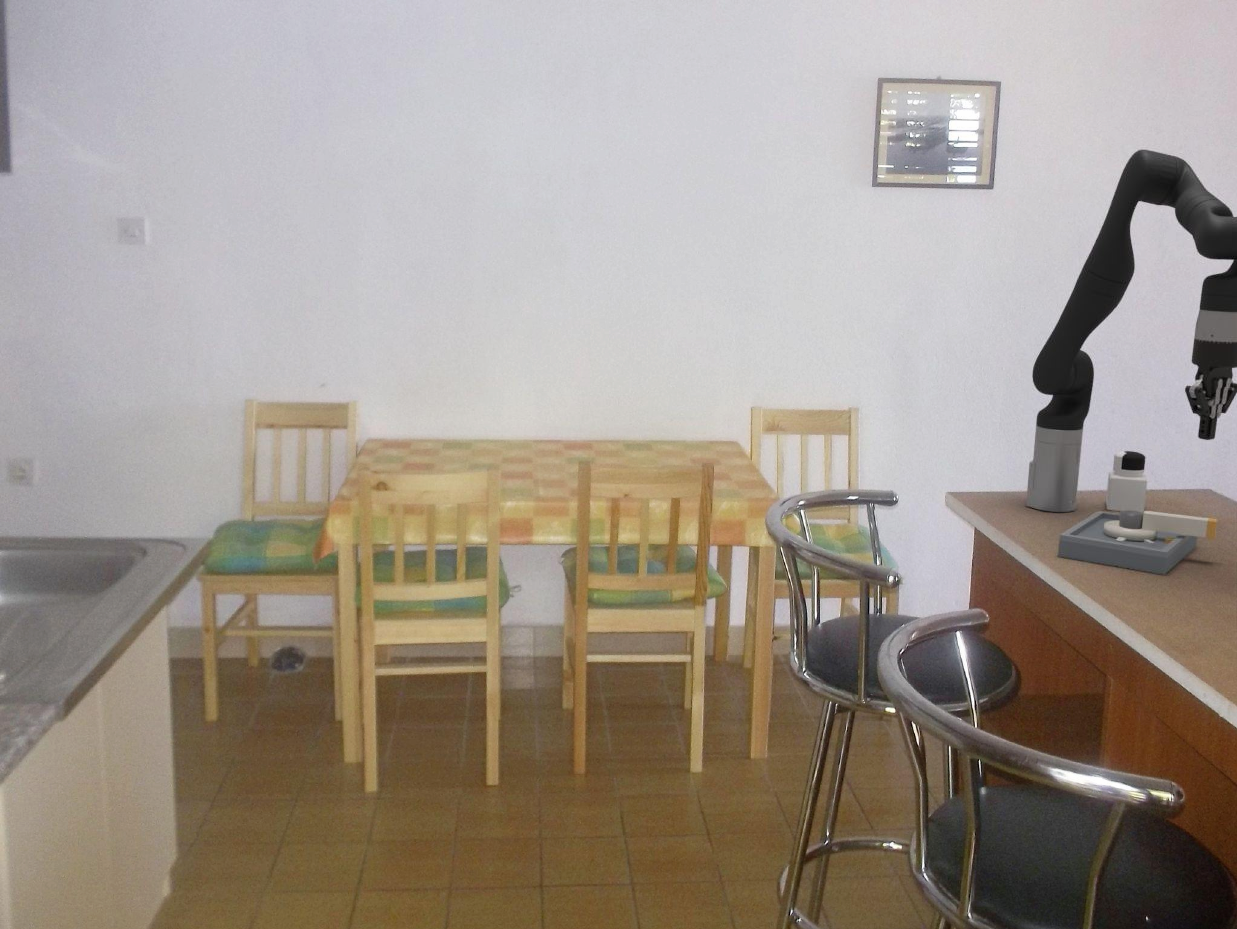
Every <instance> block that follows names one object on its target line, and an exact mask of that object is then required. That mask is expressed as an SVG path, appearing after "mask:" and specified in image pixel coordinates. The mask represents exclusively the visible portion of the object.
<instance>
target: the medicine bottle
mask: <svg viewBox="0 0 1237 929" xmlns="http://www.w3.org/2000/svg"><path fill="white" fill-rule="evenodd" d="M1146 458H1147V457H1146V456H1145V455H1144V454H1143V453H1141V452H1138V451H1132V450H1120V451H1117V452H1115V453H1114V455H1113V465H1112V466H1113V467H1112V470H1110V471H1108V478H1107V488H1106V498H1105V504H1106V509H1107V511H1114V512H1115V511H1117V512H1121V511H1137V512H1141V513H1143V514H1144V512H1145V506H1146V495H1147V486H1148V480H1147V479H1148V478H1147V477H1146V474H1145V465H1146Z"/></svg>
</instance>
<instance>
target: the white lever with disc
mask: <svg viewBox="0 0 1237 929" xmlns="http://www.w3.org/2000/svg"><path fill="white" fill-rule="evenodd" d="M1119 512H1120V513H1119V514H1120V520H1116V521H1108V522H1105V523H1104V533H1105V534H1106V535H1108V536H1111V537H1115V538H1119V537H1122V538H1126V540H1133V541H1144V540H1154V539H1156V538H1157V531H1158V532H1166V533H1174V534H1182V535H1190V536H1197V538H1198V537H1199V538H1206V539H1209V540H1210V539H1212V540H1215V539H1216V536H1217V535H1216V534H1217V527H1218V526H1217V525H1218V518H1211V517H1209V518H1208V517H1200V516H1192V515H1184V514H1178V513H1177V514H1176V513H1167V512H1160V511H1151V510H1144V512H1143V513H1141V512H1137V511H1119Z"/></svg>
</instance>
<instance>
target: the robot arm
mask: <svg viewBox="0 0 1237 929" xmlns="http://www.w3.org/2000/svg"><path fill="white" fill-rule="evenodd" d="M1116 185H1117V186H1116V188H1115V191H1114V194H1113V197H1112V198H1111V199H1112V200H1111V202H1110V204H1109V208H1108V211H1107V213H1106V217H1105V219H1104V221H1103V223H1102V226H1101V228H1100V230H1099V234H1098V235H1097V238H1096V239H1095V241H1094V244H1093V245H1092V247H1091V250H1090V252H1089V254H1088V256H1087V258H1086V260H1085V262H1084V264H1083V266H1082V269H1081V271H1080V272H1079V275H1078V277H1077V280H1076V282H1075V284H1074V287H1073V289H1072V291H1071V294H1070V296H1069V298H1068V300H1067V301H1066V304H1065V306H1064V308H1063V310H1062V313H1061V314H1060V317H1059V318H1058V321H1057V322H1056V324H1055V326H1054V328H1053V329H1052V331H1051V334H1050V335H1049V337H1048V339H1047V340H1046V342H1045V343H1044V345H1043V347H1042V349H1041V350H1040V351H1039V354H1038V356H1037V357H1036V359H1035V361H1034V364H1033V367H1032V374H1031V375H1032V377H1031V378H1032V383H1033V386H1034V387H1035V389H1036V390H1037V391H1038V392H1039V393H1041V394H1044V395H1047V396H1052V397H1051V400H1050V401H1049V402H1048V404H1047V405H1046V406H1045V407H1043V408H1042V409H1041V410H1039V411H1038V413H1037V416H1036V423H1035V425H1036V426H1035V433H1034V434H1035V435H1034V445H1033V456H1032V457H1033V459H1032V460H1030V462H1029V468H1028V475H1027V476H1028V477H1027V486H1026V487H1027V490H1026V498H1025V499H1026V500H1025V506H1026V507H1030V508H1033V509H1036V510H1039V511H1045V512H1050V513H1051V512H1052V513H1053V512H1054V513H1068V512H1069V513H1070V512H1074V511H1075V510H1076V505H1077V500H1078V499H1077V496H1078V495H1077V494H1078V487H1079V475H1080V465H1081V464H1080V463H1081V454H1082V445H1083V444H1082V443H1083V432H1084V423H1085V420H1086V418H1087V416H1088V415H1089V412H1090V407H1091V400H1092V394H1093V388H1094V379H1095V369H1094V364H1093V361H1092V358H1091V356H1089V354H1088V353H1087V352H1086V351H1084V350H1082V347H1083V346H1084V343H1085V342H1086V340H1087V339H1088V338H1089V337H1090V335H1091V334H1092V333H1093V332H1094V331H1095V330H1096V329H1097V328H1098V327H1099V325H1101V323H1103V322H1104V321H1105V320H1106V319H1107V318H1108V317H1109V316H1110V315H1111V314H1112V313H1113V312H1114V311H1115V309H1116V308H1117V307H1118V306H1119V305H1120V303H1121V301H1122V299H1123V297H1124V295H1125V293H1126V292H1127V289H1128V287H1129V285H1130V283H1131V281H1132V279H1133V276H1134V273H1135V269H1136V268H1135V266H1136V265H1135V262H1136V261H1135V255H1134V248H1133V243H1132V237H1131V226H1132V225H1131V223H1132V220H1133V216H1134V213H1135V210H1136V207H1137V205H1138V203H1140V202H1141V203H1145V204H1150V205H1156V206H1164V207H1165V206H1166V207H1170V208H1174V214H1175V218H1176V221H1177V222H1178V224H1179V225H1180V226H1181V227H1182V228H1183V229H1184V230H1185V231H1186V232H1188V233H1189V234H1190V235H1191V236H1192V239H1193V241H1194V244H1195V248H1196V251H1197V253H1198V254H1199V255H1201V256H1202V257H1204V258H1205V259H1210V260H1221V261H1222V260H1226V261H1230V260H1231V261H1232V263H1231V265H1230V266H1229V267H1228V269H1227V270H1226V271H1224V272H1220V273H1214V274H1211V275H1208V276H1206V277H1204V279H1203V282H1202V286H1201V292H1200V293H1201V294H1200V299H1199V300H1200V301H1199V310H1198V315H1197V319H1196V321H1195V322H1196V323H1195V328H1194V336H1193V338H1194V339H1193V345H1192V352H1191V353H1192V354H1191V363H1192V365H1194V366H1197V371H1196V374H1195V375H1194V376H1195V377H1194V380H1195V381H1194V383H1193V385H1186V386H1185V388H1184V393H1185V395H1186V398H1187V401H1188V403H1189V406H1190V409H1191V412H1192V414H1194V415H1195V414H1196V415H1197V416H1198V417H1199V425H1198V434H1197V438H1198V439H1199V440H1205V441H1210V440H1211V441H1212V440H1214V439H1215V438H1216V431H1217V424H1218V423H1217V422H1218V419H1219V418H1220V417H1221V414H1226V413H1227V412H1228V410H1229V408H1230V406H1231V404H1232V402H1233V401H1234V399H1235V397H1236V395H1237V382H1234V381H1233V377H1234V373H1233V369H1236V368H1237V216H1234V214H1233V211H1232V210H1231V208H1229V206H1227V204H1226V203H1224V202H1223V201H1221V200H1220V199H1219V198H1218V197H1216V196H1215V195H1213V193H1211V192H1209V191H1208V189H1206V187H1205V185H1204V184H1203V183H1202V181H1201V180H1200V179H1199V177H1198V176H1197V174H1196V173H1195V171H1194V170H1193V168H1192V166H1191V165H1190V164H1189V163H1188V162H1187V161H1186V160H1184V159H1183V158H1180V157H1179V156H1175V155H1171V154H1167V153H1163V152H1160V151H1159V152H1158V151H1154V150H1149V149H1138V150H1137V151H1135V152H1134V153H1133V154H1132V155H1131V156H1130V157H1129V159H1128V160H1127V162H1126V164H1125V166H1124V167H1123V170H1122V172H1121V175H1120V177H1119V179H1118V183H1117V184H1116Z"/></svg>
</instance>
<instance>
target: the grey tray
mask: <svg viewBox="0 0 1237 929" xmlns="http://www.w3.org/2000/svg"><path fill="white" fill-rule="evenodd" d="M1116 520H1120V513H1116V512H1115V513H1114V512H1108V511H1102V510H1098V511H1096V512H1094V513H1092V514H1090V515H1089V516H1088V517H1086V518H1085V519H1082V520H1081V521H1079V522H1078V523H1076V524H1074V525H1073V526H1072V527H1070V528H1068V529H1067V530H1065V531H1064V532H1062V533H1060V534H1059V538H1058V539H1059V540H1058V550H1057V551H1058V552H1057V557H1060V558H1066V559H1072V560H1077V561H1082V560H1083V561H1082V562H1089V563H1094V564H1099V563H1100V564H1099V565H1104V566H1105V565H1106V566H1110V567H1116V566H1118V567H1117V568H1123V569H1127V568H1129V569H1128V570H1133V569H1134V570H1135V571H1138V572H1139V571H1140V572H1144V571H1145V573H1146V572H1147V573H1150V572H1151V574H1156V575H1161V576H1165V575H1166V574H1167V573H1168V572H1170V570H1171V569H1173V568H1174V567H1175V566H1176V565H1177V564H1178V563H1180V561H1181V560H1183V559H1184V558H1185V557H1186V556H1187V555H1188V554H1189V553H1191V552H1192V551H1193V550H1194V549H1195V548H1196V547H1197V540H1198V537H1197V536H1190V535H1182V534H1174V533H1166V532H1158V531H1157V538H1156V539H1154V540H1144V541H1133V540H1126V538H1122V537H1119V538H1115V537H1111V536H1108V535H1106V534H1105V533H1104V523H1105V522H1108V521H1116Z"/></svg>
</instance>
